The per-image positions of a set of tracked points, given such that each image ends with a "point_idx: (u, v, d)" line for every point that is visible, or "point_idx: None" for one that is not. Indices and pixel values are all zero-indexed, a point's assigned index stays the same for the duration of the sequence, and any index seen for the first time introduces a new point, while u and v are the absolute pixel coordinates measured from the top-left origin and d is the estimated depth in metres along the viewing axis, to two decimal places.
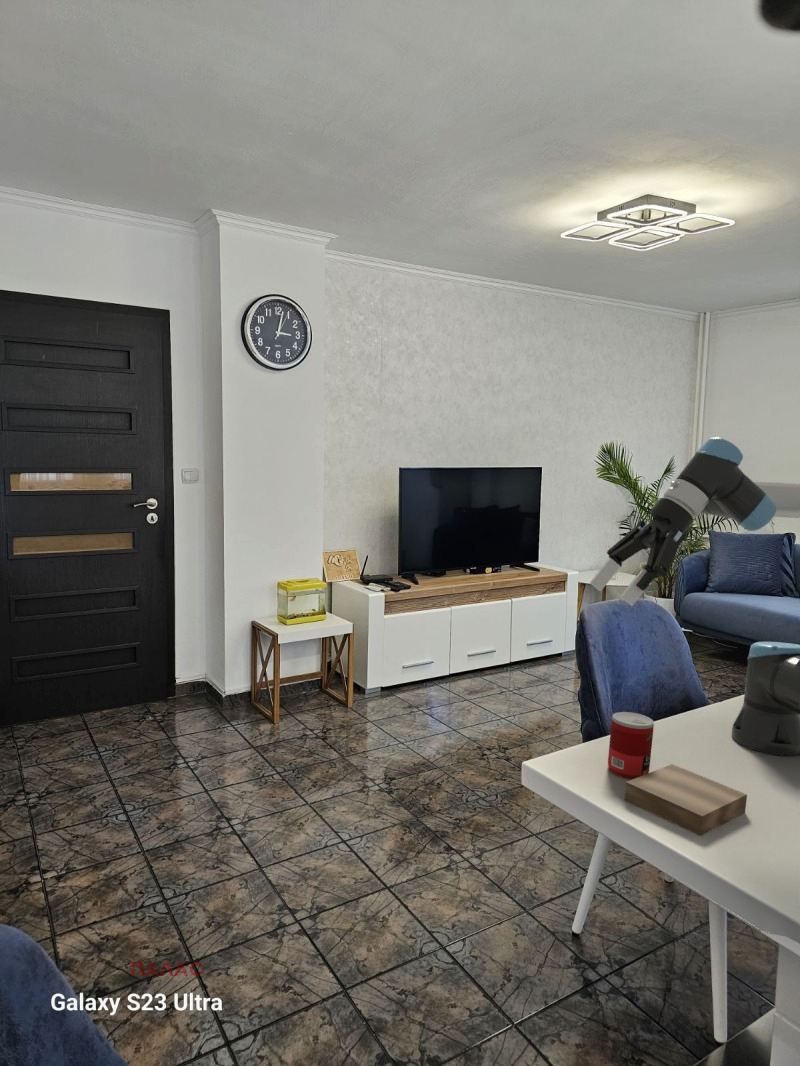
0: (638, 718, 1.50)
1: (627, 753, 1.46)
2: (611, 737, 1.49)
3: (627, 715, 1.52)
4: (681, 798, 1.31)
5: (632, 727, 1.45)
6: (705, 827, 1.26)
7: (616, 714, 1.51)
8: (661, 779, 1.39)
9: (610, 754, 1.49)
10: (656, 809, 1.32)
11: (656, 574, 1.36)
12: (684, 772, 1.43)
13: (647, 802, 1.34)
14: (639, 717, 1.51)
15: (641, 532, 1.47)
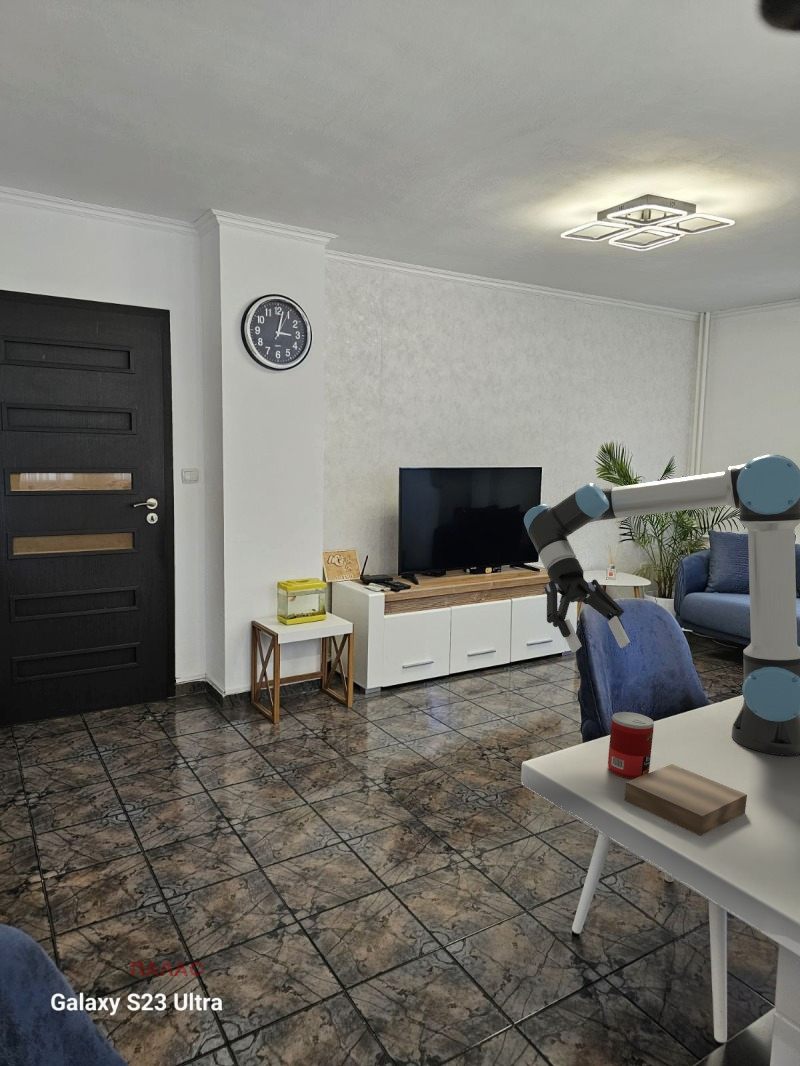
0: (638, 718, 1.50)
1: (627, 753, 1.46)
2: (611, 737, 1.49)
3: (627, 715, 1.52)
4: (681, 798, 1.31)
5: (632, 727, 1.45)
6: (705, 827, 1.26)
7: (616, 714, 1.51)
8: (661, 779, 1.39)
9: (610, 754, 1.49)
10: (656, 809, 1.32)
11: (556, 620, 1.59)
12: (684, 772, 1.43)
13: (647, 802, 1.34)
14: (639, 717, 1.51)
15: None
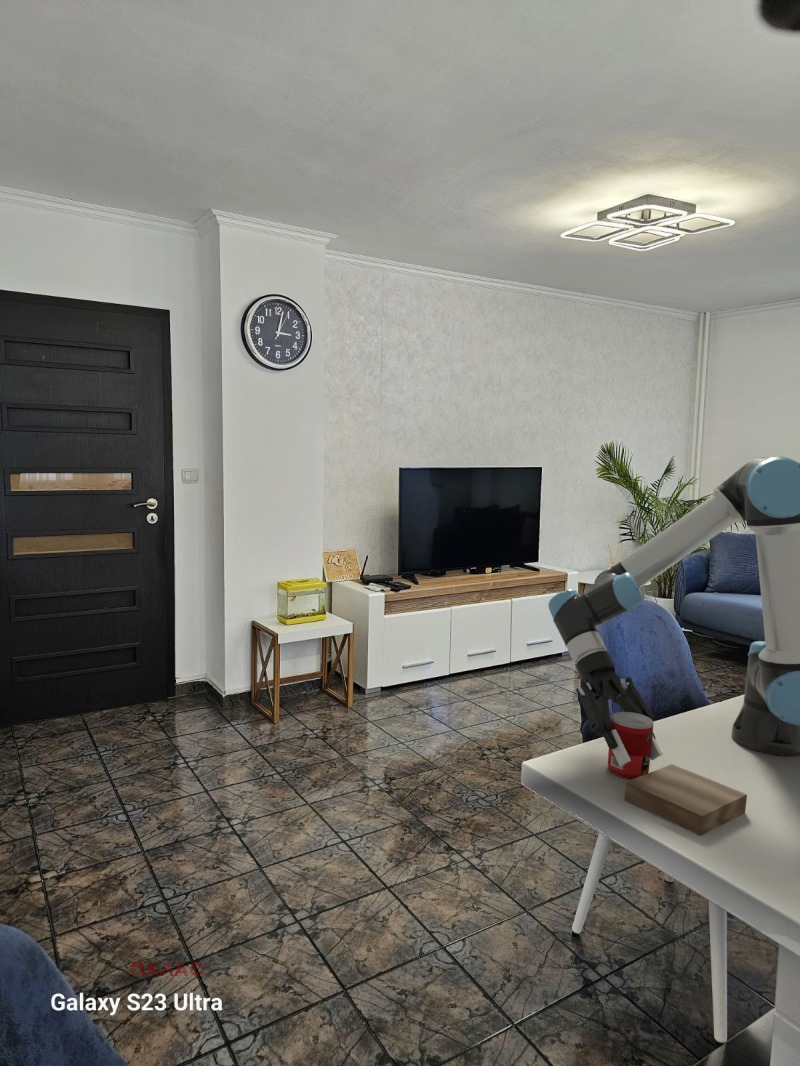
0: (638, 718, 1.50)
1: None
2: None
3: (627, 715, 1.51)
4: (681, 798, 1.31)
5: (632, 727, 1.45)
6: (705, 827, 1.26)
7: (616, 714, 1.51)
8: (661, 779, 1.39)
9: (610, 754, 1.49)
10: (656, 809, 1.32)
11: (601, 731, 1.47)
12: (684, 772, 1.43)
13: (647, 802, 1.34)
14: (639, 717, 1.51)
15: None
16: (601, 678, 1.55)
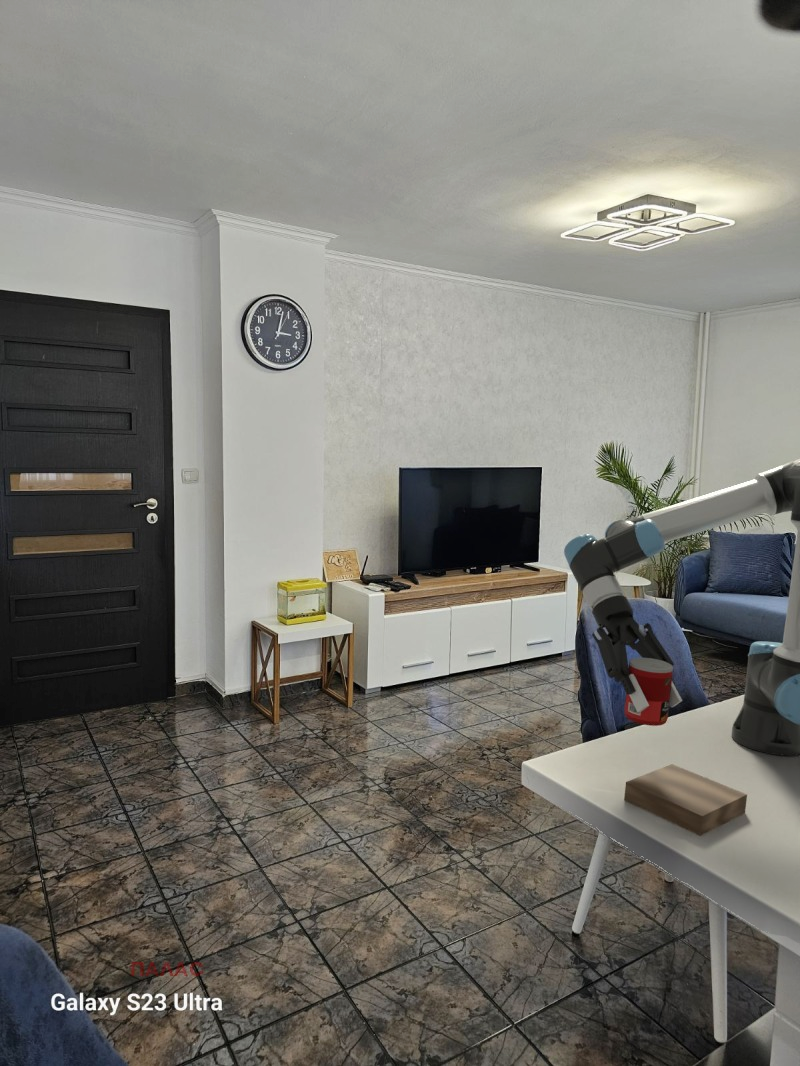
0: (656, 663, 1.44)
1: None
2: None
3: (645, 660, 1.45)
4: (681, 798, 1.31)
5: (650, 670, 1.39)
6: (705, 827, 1.26)
7: (633, 659, 1.45)
8: (661, 779, 1.39)
9: (627, 700, 1.43)
10: (656, 809, 1.32)
11: (618, 675, 1.41)
12: (684, 772, 1.43)
13: (647, 802, 1.34)
14: (658, 662, 1.44)
15: None
16: (618, 623, 1.49)
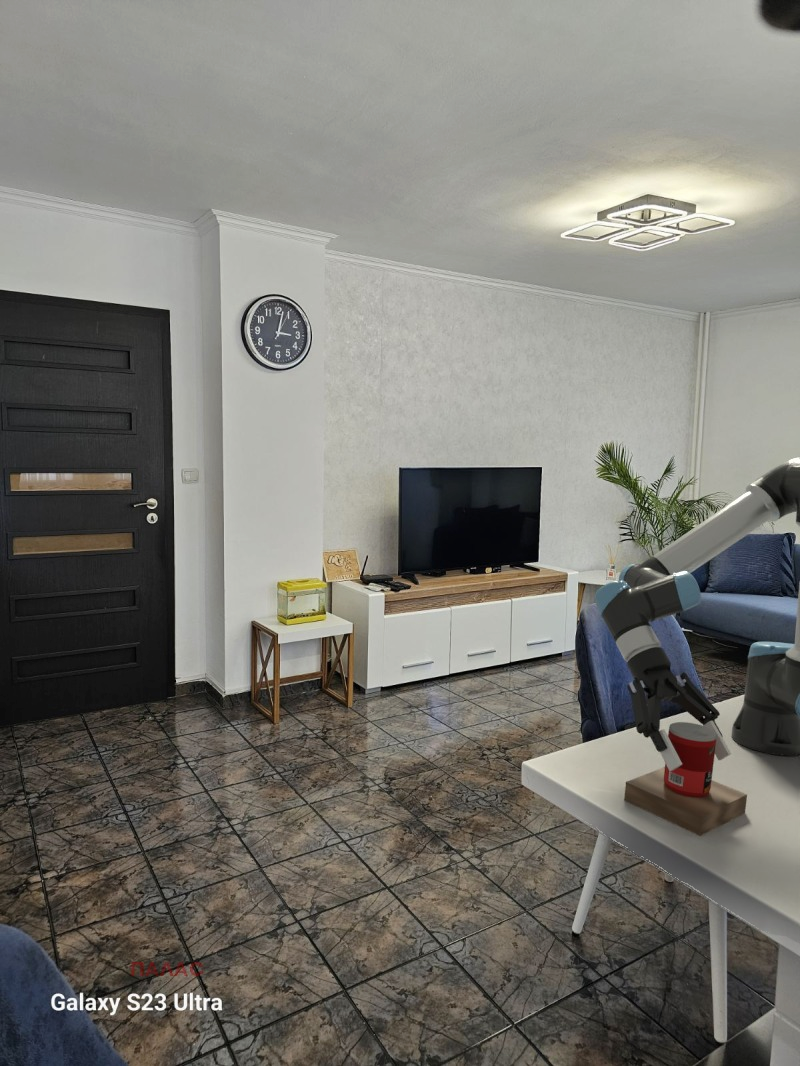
0: (698, 729, 1.36)
1: (687, 768, 1.32)
2: None
3: (685, 726, 1.37)
4: (681, 798, 1.31)
5: (693, 739, 1.31)
6: (705, 827, 1.26)
7: (673, 725, 1.37)
8: (661, 779, 1.39)
9: (667, 769, 1.35)
10: (656, 809, 1.32)
11: (648, 731, 1.32)
12: None
13: (647, 802, 1.34)
14: (699, 728, 1.36)
15: None
16: (658, 679, 1.40)
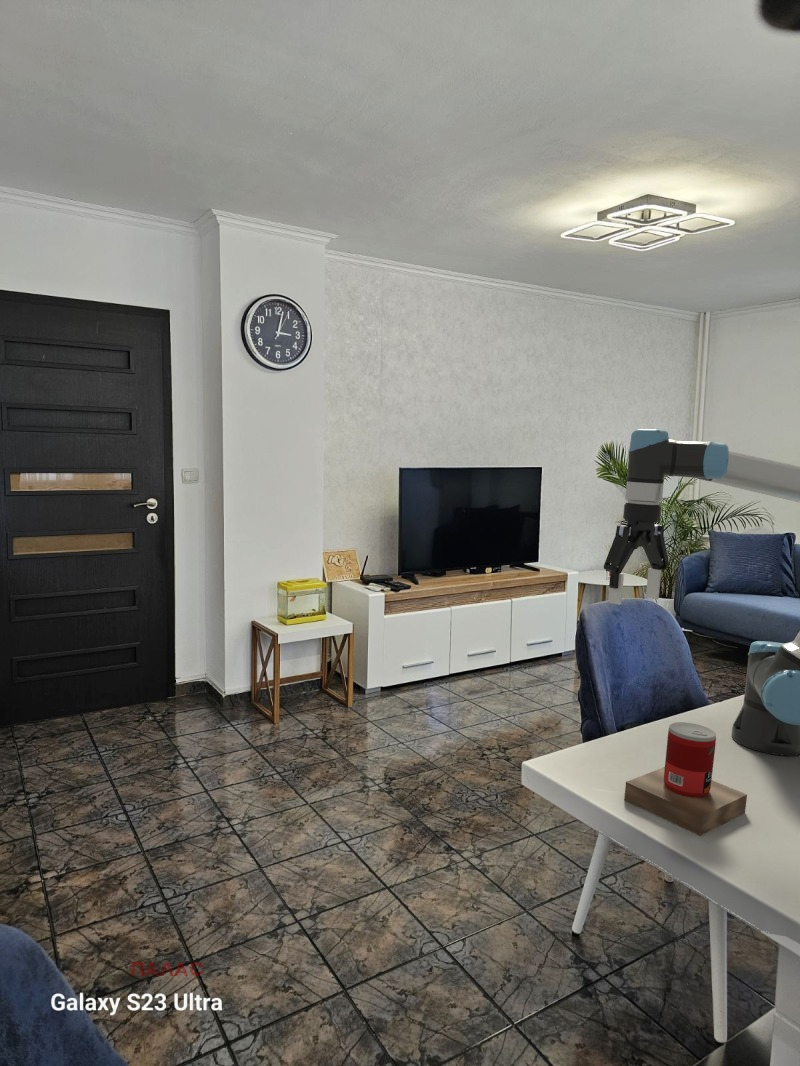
0: (698, 729, 1.36)
1: (687, 768, 1.32)
2: (668, 750, 1.35)
3: (685, 726, 1.37)
4: (681, 798, 1.31)
5: (693, 739, 1.31)
6: (705, 827, 1.26)
7: (673, 725, 1.37)
8: (661, 779, 1.39)
9: (667, 769, 1.35)
10: (656, 809, 1.32)
11: (612, 571, 1.55)
12: None
13: (647, 802, 1.34)
14: (698, 728, 1.36)
15: None
16: None
